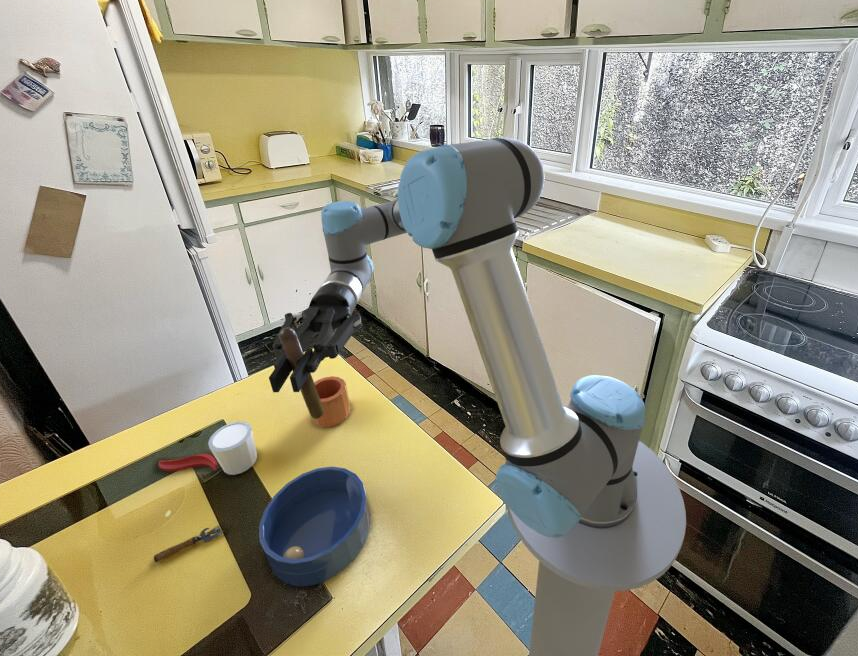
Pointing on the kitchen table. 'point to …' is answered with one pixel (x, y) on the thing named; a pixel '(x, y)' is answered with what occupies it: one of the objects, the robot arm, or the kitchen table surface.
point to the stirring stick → (294, 356)
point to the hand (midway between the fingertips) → (284, 384)
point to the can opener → (188, 543)
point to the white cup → (234, 447)
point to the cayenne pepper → (189, 463)
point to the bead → (294, 553)
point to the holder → (332, 401)
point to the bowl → (316, 525)
